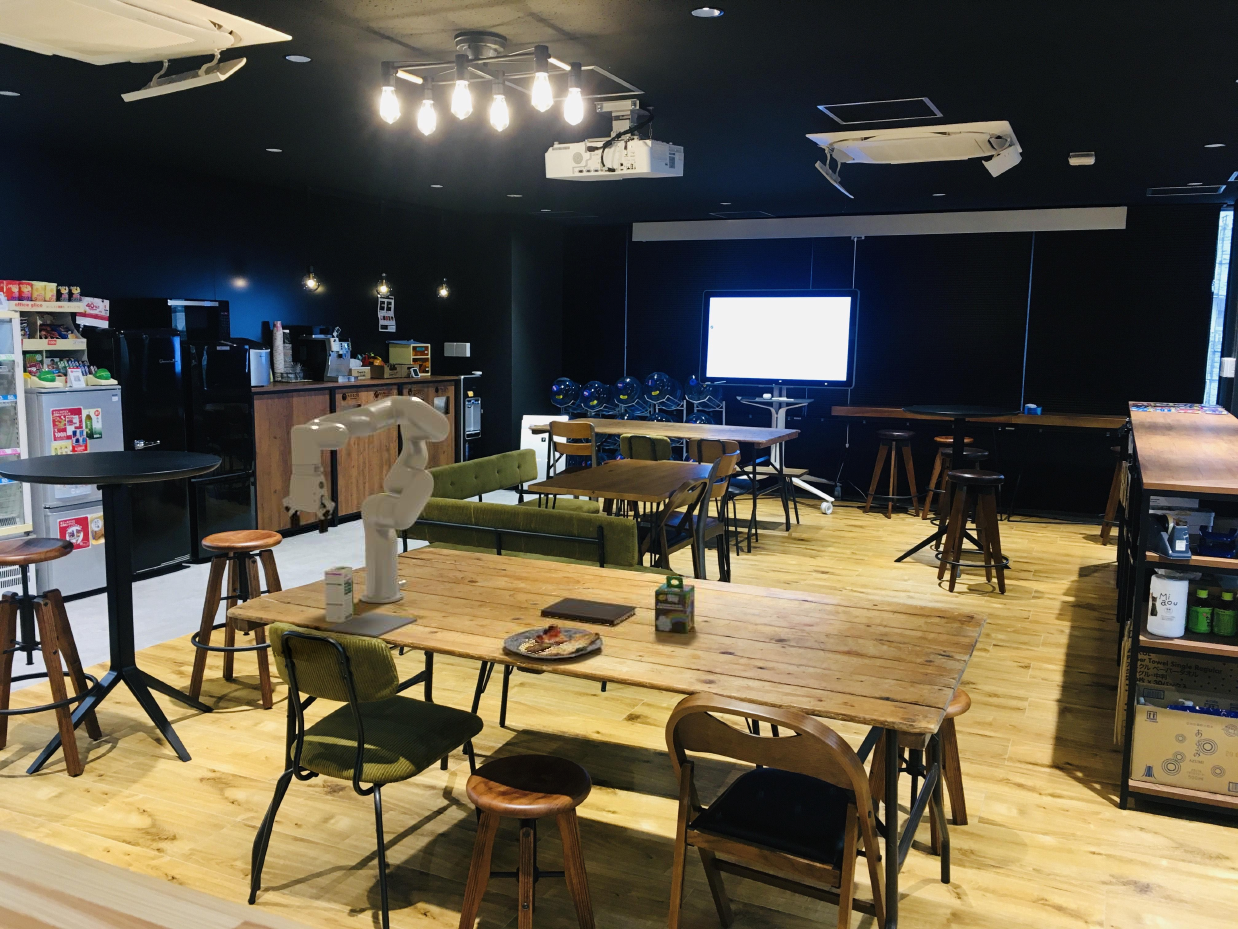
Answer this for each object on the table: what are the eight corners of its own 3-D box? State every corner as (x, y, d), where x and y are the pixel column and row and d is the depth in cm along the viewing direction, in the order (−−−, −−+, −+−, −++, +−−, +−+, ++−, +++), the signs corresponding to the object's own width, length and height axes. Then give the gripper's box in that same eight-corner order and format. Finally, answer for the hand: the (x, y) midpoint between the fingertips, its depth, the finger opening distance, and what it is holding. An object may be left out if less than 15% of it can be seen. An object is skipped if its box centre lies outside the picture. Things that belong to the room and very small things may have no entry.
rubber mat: (370, 613, 276) (370, 611, 276) (417, 620, 270) (417, 618, 270) (327, 629, 260) (327, 627, 260) (376, 637, 254) (376, 635, 254)
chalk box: (694, 625, 270) (696, 573, 268) (686, 634, 261) (687, 580, 260) (662, 622, 273) (664, 570, 271) (653, 630, 264) (654, 577, 263)
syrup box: (344, 623, 266) (343, 571, 265) (324, 621, 268) (323, 569, 266) (354, 617, 272) (353, 566, 270) (334, 616, 273) (334, 565, 271)
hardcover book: (566, 605, 292) (566, 597, 291) (636, 614, 282) (636, 606, 282) (540, 617, 277) (540, 609, 277) (613, 628, 268) (614, 620, 268)
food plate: (554, 628, 264) (554, 616, 264) (620, 647, 250) (620, 633, 249) (486, 651, 245) (486, 638, 245) (553, 673, 231) (553, 659, 230)
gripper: (341, 470, 266) (343, 531, 269) (291, 466, 273) (294, 526, 275) (323, 473, 259) (325, 536, 262) (272, 470, 266) (275, 531, 269)
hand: (309, 531), depth 269 cm, fingers open, 9 cm apart
